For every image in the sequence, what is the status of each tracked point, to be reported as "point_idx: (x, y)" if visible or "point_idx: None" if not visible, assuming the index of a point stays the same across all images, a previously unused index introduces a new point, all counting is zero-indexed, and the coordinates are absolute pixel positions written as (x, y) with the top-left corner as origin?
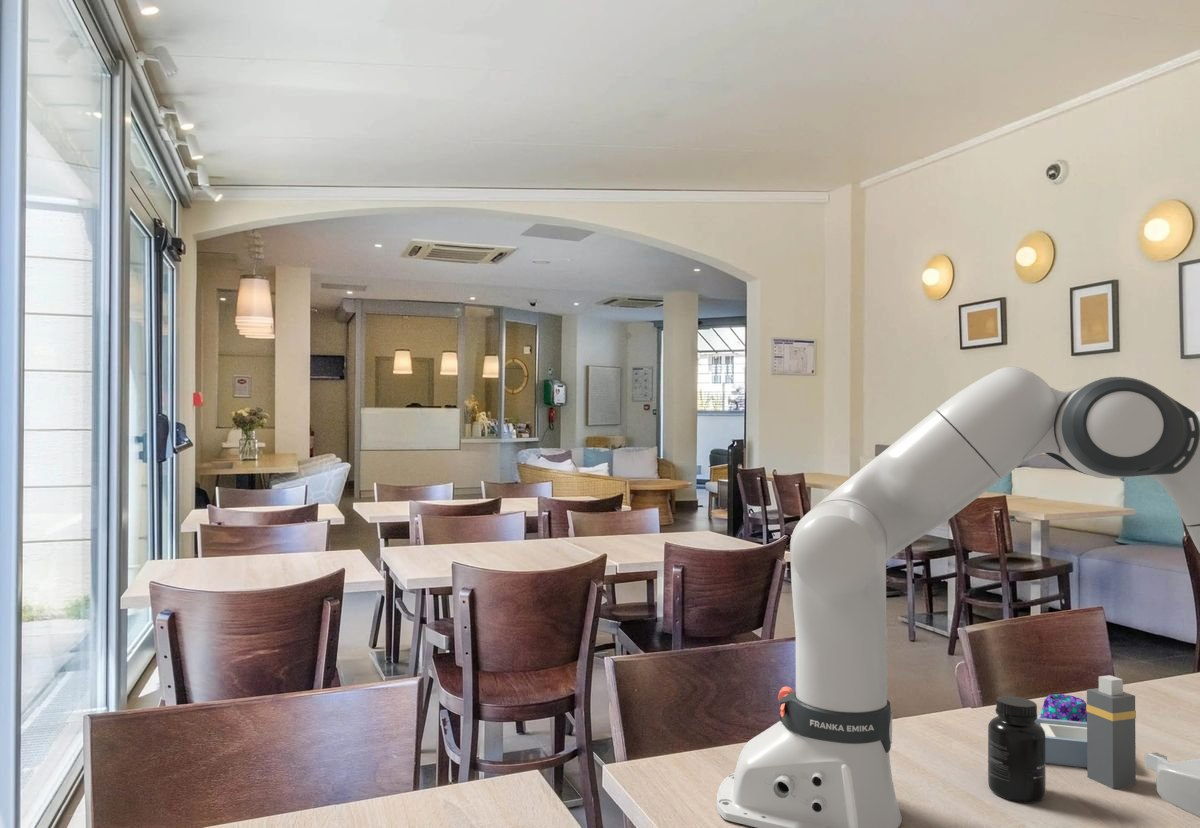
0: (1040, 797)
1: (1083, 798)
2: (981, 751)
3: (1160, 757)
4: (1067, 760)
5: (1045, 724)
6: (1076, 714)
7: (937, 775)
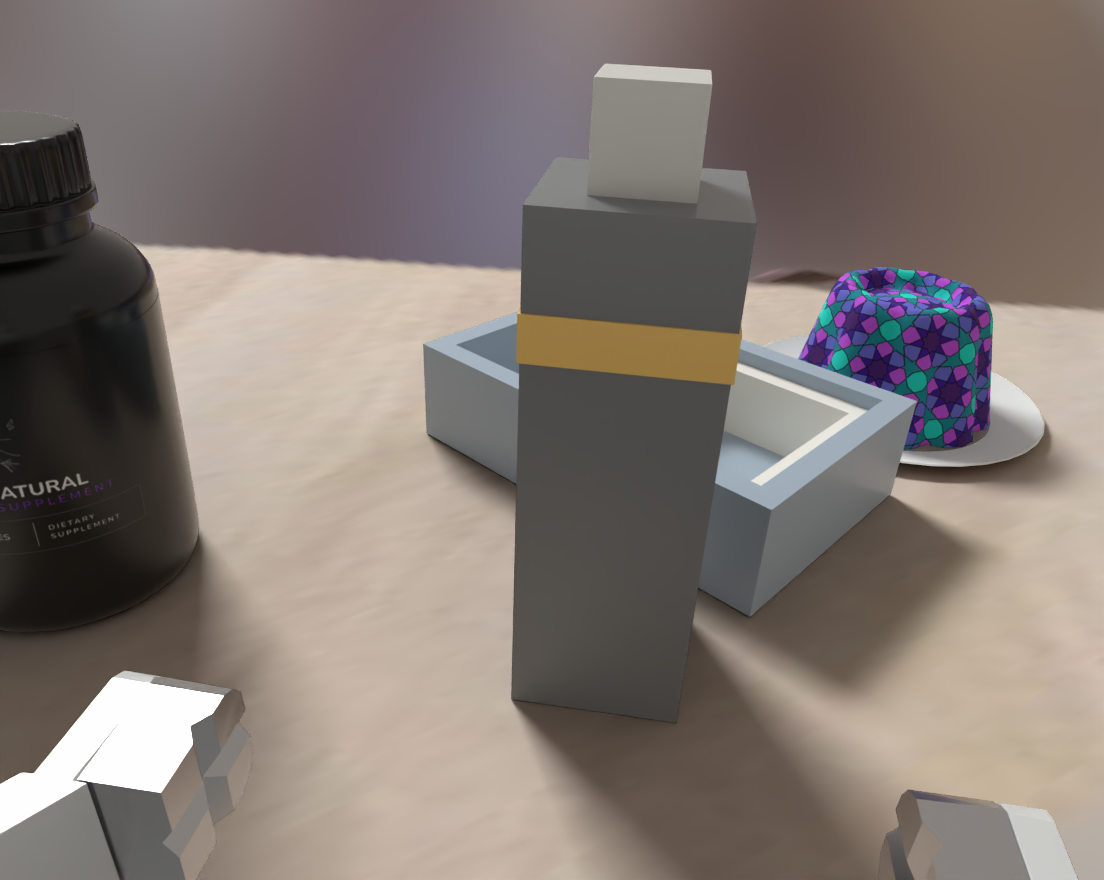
0: (11, 621)
1: (249, 696)
2: (410, 386)
3: (63, 776)
4: None
5: None
6: (892, 348)
7: None
